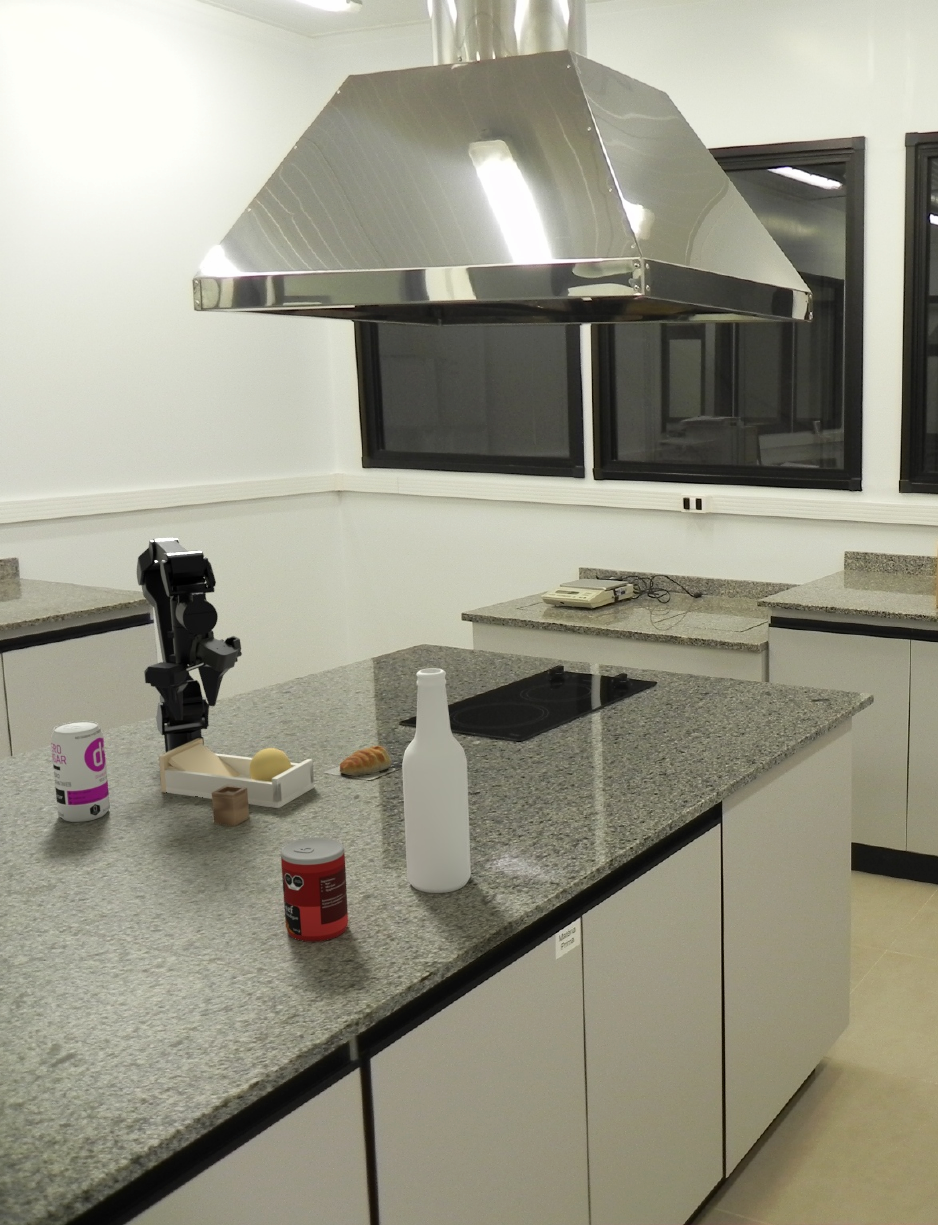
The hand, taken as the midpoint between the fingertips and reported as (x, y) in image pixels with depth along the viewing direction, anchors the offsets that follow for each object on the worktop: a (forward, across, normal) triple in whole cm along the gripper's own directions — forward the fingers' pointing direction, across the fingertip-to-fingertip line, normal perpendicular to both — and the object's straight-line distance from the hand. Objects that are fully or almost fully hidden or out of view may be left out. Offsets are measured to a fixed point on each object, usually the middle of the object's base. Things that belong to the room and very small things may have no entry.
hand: (196, 712), depth 211 cm
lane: (+13, 0, -8) cm, 15 cm away
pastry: (+14, +17, -23) cm, 32 cm away
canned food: (+13, -42, -50) cm, 67 cm away
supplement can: (+13, -19, +9) cm, 25 cm away
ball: (+8, 0, -15) cm, 17 cm away
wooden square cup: (+13, -13, -16) cm, 25 cm away
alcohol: (+13, -23, -58) cm, 64 cm away
